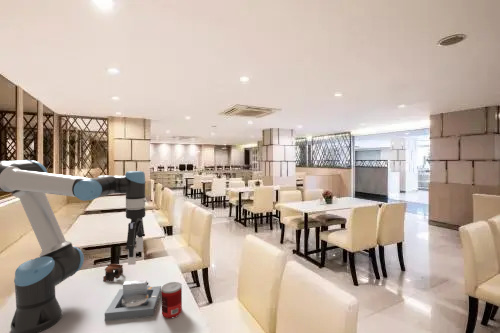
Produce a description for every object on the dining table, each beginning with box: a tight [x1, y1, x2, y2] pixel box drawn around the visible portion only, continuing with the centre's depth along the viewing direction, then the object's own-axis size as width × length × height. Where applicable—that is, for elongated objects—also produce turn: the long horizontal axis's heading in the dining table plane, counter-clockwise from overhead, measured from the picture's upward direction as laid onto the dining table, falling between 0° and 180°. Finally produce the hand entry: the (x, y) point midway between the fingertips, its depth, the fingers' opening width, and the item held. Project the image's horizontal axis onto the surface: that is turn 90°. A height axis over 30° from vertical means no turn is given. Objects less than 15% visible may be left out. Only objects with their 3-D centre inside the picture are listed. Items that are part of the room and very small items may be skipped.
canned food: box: [160, 281, 183, 319], centre depth 107 cm, size 8×8×11 cm
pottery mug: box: [102, 263, 124, 282], centre depth 137 cm, size 12×10×8 cm
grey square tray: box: [104, 285, 162, 322], centre depth 112 cm, size 18×18×3 cm
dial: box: [122, 279, 149, 308], centre depth 112 cm, size 10×10×9 cm
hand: (136, 257), depth 112 cm, fingers open, 13 cm apart
